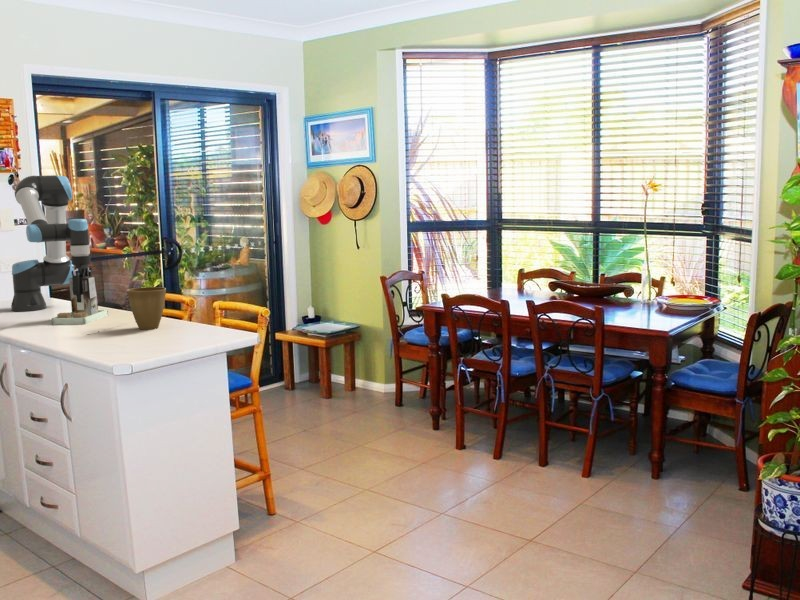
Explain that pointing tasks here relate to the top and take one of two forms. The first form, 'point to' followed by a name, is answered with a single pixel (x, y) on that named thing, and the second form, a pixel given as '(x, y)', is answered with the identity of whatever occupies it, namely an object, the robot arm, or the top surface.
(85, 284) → the coffee box
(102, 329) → the top surface
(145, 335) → the top surface
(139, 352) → the top surface
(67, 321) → the tray
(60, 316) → the walnut block
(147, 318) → the plant pot
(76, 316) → the walnut block
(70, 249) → the robot arm
